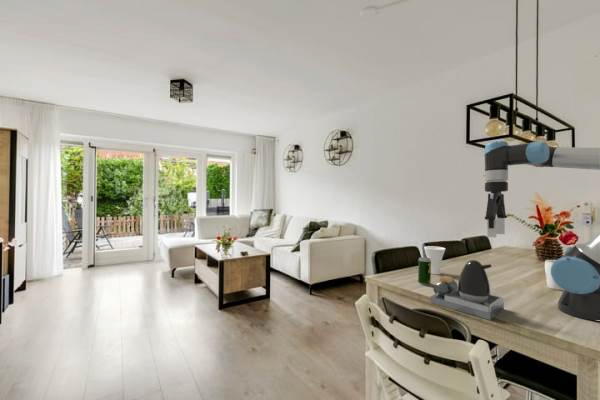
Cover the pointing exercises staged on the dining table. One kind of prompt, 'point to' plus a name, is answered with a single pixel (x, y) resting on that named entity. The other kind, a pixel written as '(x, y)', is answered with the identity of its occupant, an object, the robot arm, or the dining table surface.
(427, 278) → the green soda can
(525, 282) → the dining table surface
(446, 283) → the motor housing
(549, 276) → the cup
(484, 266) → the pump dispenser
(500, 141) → the robot arm
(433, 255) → the cup
